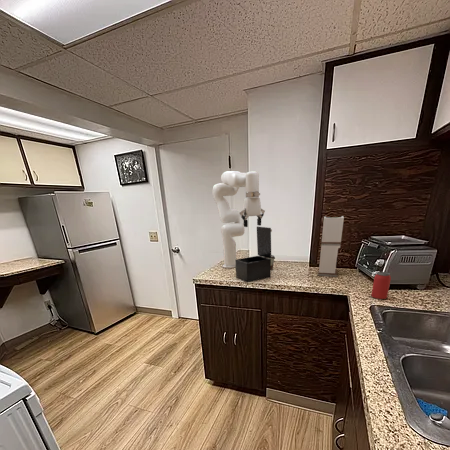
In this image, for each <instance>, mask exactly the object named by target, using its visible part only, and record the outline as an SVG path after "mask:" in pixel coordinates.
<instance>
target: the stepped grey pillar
mask: <svg viewBox="0 0 450 450" xmlns="http://www.w3.org/2000/svg"><path fill="white" fill-rule="evenodd" d="M344 221H345V217H344V215H341V216H339V217H327V216H323V224H322V235H321V243H320V255H319V266H318V276H319V277H334V278H335V277H338V269H337V261H338V253H339V249H341V246H342V237H343V229H344Z"/></svg>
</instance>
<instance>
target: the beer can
mask: <svg viewBox="0 0 450 450" xmlns="http://www.w3.org/2000/svg"><path fill="white" fill-rule="evenodd" d="M391 280H392V277H391V273H390V272H386V271H378V272H376V273H375V276H374V278H373V282H372V289H371V298H373V299H376V300H386V299H387V298H388V295H389V290H390V286H391Z"/></svg>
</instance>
